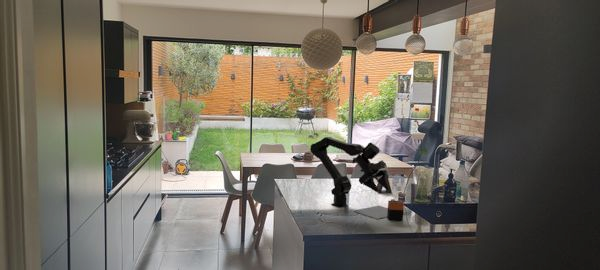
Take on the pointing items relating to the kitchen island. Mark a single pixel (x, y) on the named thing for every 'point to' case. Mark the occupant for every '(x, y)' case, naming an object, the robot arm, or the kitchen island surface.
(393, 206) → the battery
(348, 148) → the robot arm
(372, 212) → the mat
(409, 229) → the kitchen island surface
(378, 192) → the brown a-shaped stand
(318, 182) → the kitchen island surface
